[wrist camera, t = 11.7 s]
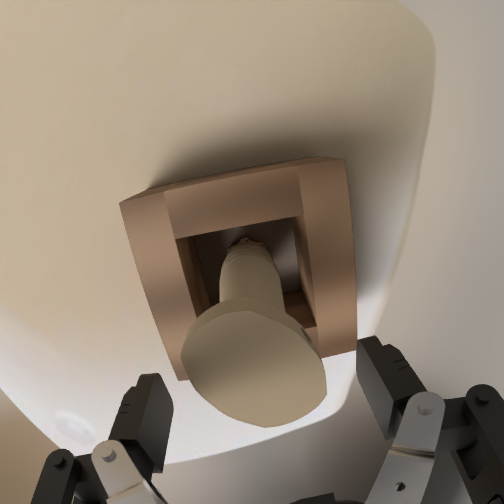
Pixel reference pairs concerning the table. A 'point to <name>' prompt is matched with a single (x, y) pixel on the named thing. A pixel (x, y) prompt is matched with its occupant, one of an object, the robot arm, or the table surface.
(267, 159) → the table surface
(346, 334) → the wooden block
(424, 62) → the table surface
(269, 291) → the handle
